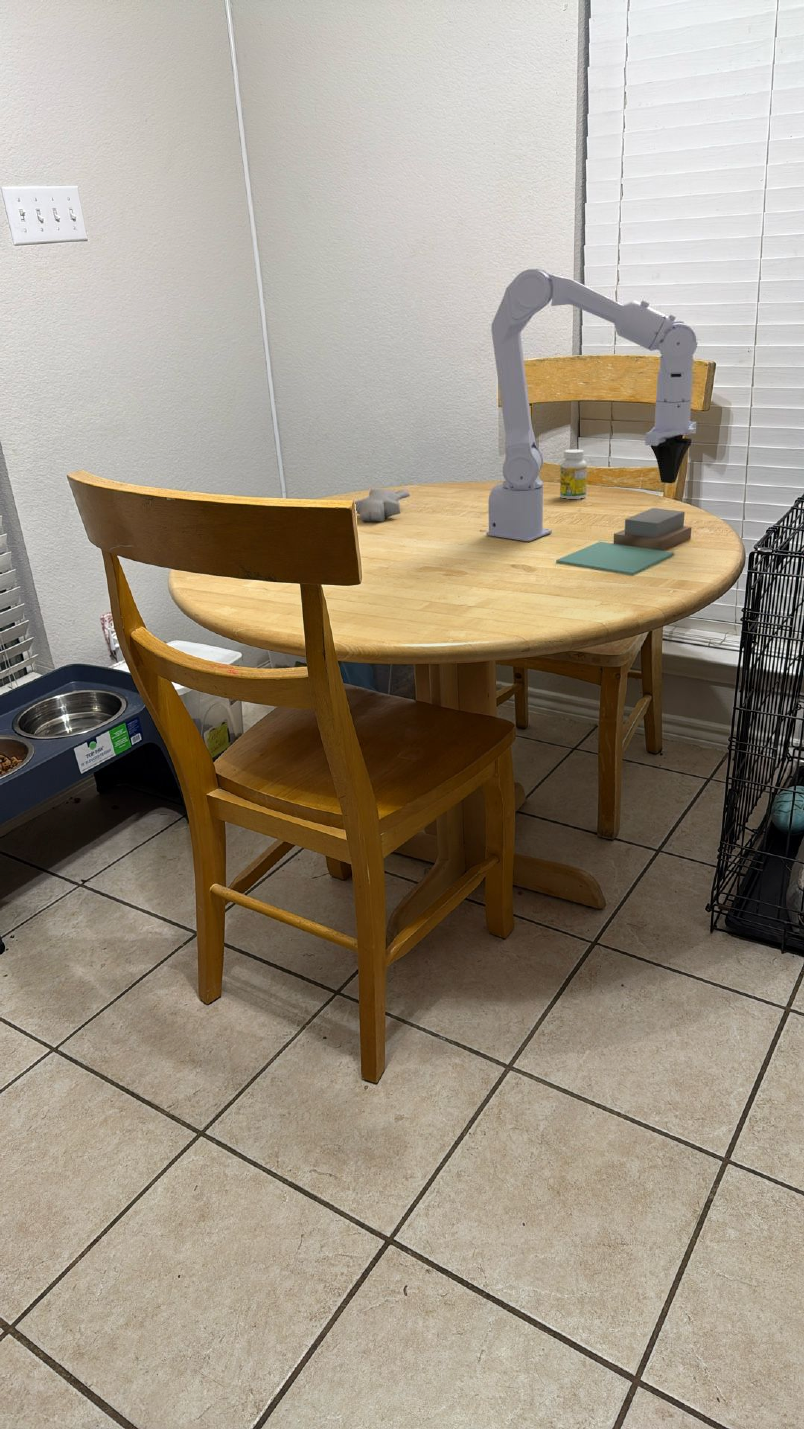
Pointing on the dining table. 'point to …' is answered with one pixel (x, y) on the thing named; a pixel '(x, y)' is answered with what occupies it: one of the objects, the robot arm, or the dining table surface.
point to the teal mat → (615, 558)
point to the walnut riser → (654, 539)
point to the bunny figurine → (380, 504)
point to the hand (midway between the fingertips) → (668, 482)
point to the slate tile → (654, 522)
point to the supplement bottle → (573, 475)
